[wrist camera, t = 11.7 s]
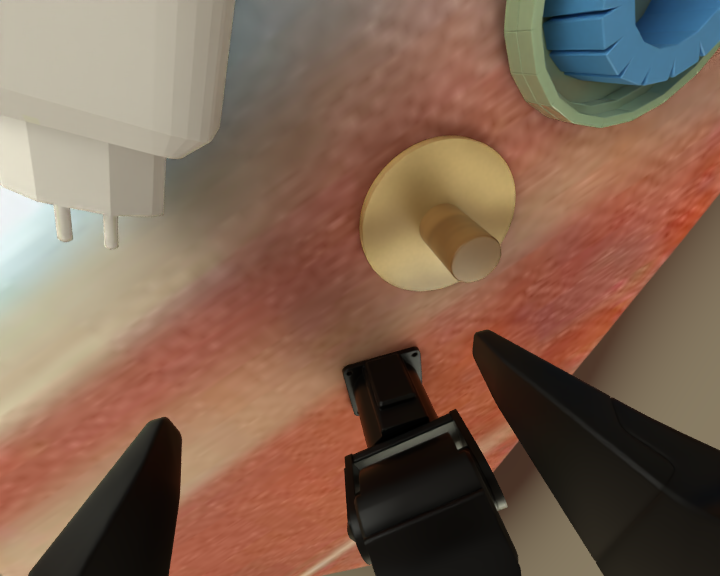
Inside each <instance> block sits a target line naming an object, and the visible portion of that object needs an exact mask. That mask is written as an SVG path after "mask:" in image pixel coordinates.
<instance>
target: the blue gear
mask: <svg viewBox="0 0 720 576" xmlns="http://www.w3.org/2000/svg"><path fill="white" fill-rule="evenodd" d="M552 16H553V17H552ZM543 17H551V18H550V19H549V20H547V21H546V22H544V23H543V29H544V35H545V41H546V47H547V50H552V52H551V53H550V54H549V56H550V57H551V59H552V60H553V61H554V63H555V64H556V66H557V67H558V68H559V70H560V71H562V72H564V74H565V75H567V76H570V77H573V78H576V79H578V80H583V81H594V82H605V83H616V84H627V85H638V86H639V85H644V86H645V85H649V84H654V83H658V82H663V81H667V80H668V78H669V77H671V78H672V77H675V76H677V75H678V74H680V73H681V72H683V71H685V70H686V69H688V68H689V67H691V66H692V65H694V64H695V63H697V62H698V61H699V56H705V55H707V54H708V53H709V51H710V50H711V49H712V48H713V47H714V46H715V45H716V44H717V43H718V42H719V41H720V0H651V2H650V3H649V5H648V7H647V9H646V11H645V13H644V15H643V16H642V17H641V18H640V19H639V21H638V22H637V23H636V20H635V0H545V5H544V12H543Z"/></svg>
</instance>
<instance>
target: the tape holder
mask: <svg viewBox="0 0 720 576" xmlns="http://www.w3.org/2000/svg"><path fill="white" fill-rule="evenodd" d="M515 198H516V195H515V185H514V180H513V177H512V174H511V171H510V169H509V167H508V165H507V164H506V162H505V160H504V159H503V158H502V157H501V156H500V155H499V154H498V153H497V152H496V151H495V150H494V149H492V148H491V147H489V146H487V145H486V144H484V143H482V142H479V141H477V140H474V139H471V138H468V137H463V136H439V137H434V138H430V139H427V140H424V141H421V142H419V143H417V144H415V145H412V146H411V147H409V148H408V149H406V150H404V151H403V152H401V153H400V154H399V155H397V156H396V157H395V158H394V159H392V160H391V161H390V162H389V163H388V164H387V165H386V166H385V167H384V168H383V170H382V171H381V172H380V173H379V175H378V176H377V177H376V179H375V180H374V182H373V184H372V185H371V187H370V189H369V191H368V193H367V195H366V197H365V200H364V203H363V206H362V210H361V215H360V224H359V232H360V241H361V245H362V248H363V251H364V253H365V256H366V258H367V260H368V262H369V263H370V265H371V267H372V268H373V270H374V271H375V272H376V273H377V274H378V275H379V276H380V277H381V278H382V279H383V280H385V281H386V282H388V283H389V284H391V285H393V286H396V287H398V288H401V289H405V290H410V291H432V290H437V289H441V288H444V287H447V286H450V285H453V284H455V283H457V282H459V281H461V282H465V283H470V282H475V281H478V280H481V279H483V278H484V277H486V276H487V275H488V274H490V273H491V272H492V271H493V270H494V268H495V267H496V266H497V264H498V262H499V260H500V257H501V247H500V244H501V243H502V241H503V239H504V237H505V235H506V233H507V231H508V229H509V227H510V224H511V221H512V218H513V214H514V208H515Z"/></svg>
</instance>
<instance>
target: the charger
mask: <svg viewBox="0 0 720 576" xmlns="http://www.w3.org/2000/svg"><path fill="white" fill-rule="evenodd" d="M234 6H235V0H0V184H1V185H2V187H4V188H6V189H9V190H11V191H14V192H16V193H18V194H21V195H23V196H25V197H28V198H30V199H32V200H35V201H37V202H42V203H47V204H52V205H54V213H55V221H56V230H57V238H58V239H59V240H60V241H63V242H69V241H71V240H73V235H72V224H71V214H70V208H73V209H78V210H83V211H88V212H94V213H99V214H103V223H104V245H105V247H106V248H108V249H116V248H118V216H136V217H155V216H161V215H163V210H164V190H165V169H166V158H172V159H181V158H183V157H185V156H187V155H188V154H190V153H192V152H194V151H195V150H197V149H199V148H201V147H202V146H204V145H206V144H207V143H209V142H211V141H212V139H213V138H214V136H215V134H216V133H217V131H218V129H219V128H220V122H221V114H222V106H223V98H224V89H225V81H226V73H227V64H228V56H229V48H230V40H231V31H232V23H233V15H234Z"/></svg>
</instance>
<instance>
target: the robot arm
mask: <svg viewBox="0 0 720 576" xmlns="http://www.w3.org/2000/svg"><path fill="white" fill-rule="evenodd" d="M473 357H474V359H475V361H476V363H477V365H478V367H479V370H480V372H481V374H482V376H483V378H484V380H485V382H486V384H487V386H488V388H489V390H490V392H491V394H492V396H493V398H494V400H495V402H496V404H497V406H498V407H499V409H500V411H501V412H502V414H503V415H504V417H505V419H506V420H507V422H508V423H509V425H510V427H511V428H512V430H513V431H514V433H515V435H516V436H517V438H518V439H519V441H520V442H521V444H522V445H523V447H524V449H525V450H526V452H527V454H528V455H529V457H530V458H531V460H532V461H533V463H534V465H535V466H536V468H537V470H538V471H539V473H540V474H541V476H542V477H543V479H544V481H545V482H546V484H547V485H548V487H549V489H550V490H551V492H552V493H553V495H554V497H555V498H556V500H557V501H558V503H559V505H560V506H561V508H562V509H563V511H564V513H565V514H566V516H567V517H568V519H569V521H570V522H571V524H572V525H573V527H574V528H575V530H576V532H577V533H578V535H579V536H580V538H581V539H582V541H583V543H584V544H585V546H586V548H587V549H588V551H589V552H590V554H591V556H592V557H593V559H594V560H595V561H596V564H597V565H598V567H599V568H600V570H601V572H602V573H603V575H604V576H720V450H718V449H716V448H713V447H711V446H709V445H707V444H705V443H703V442H701V441H698V440H696V439H694V438H692V437H690V436H688V435H685V434H683V433H681V432H679V431H677V430H675V429H673V428H671V427H669V426H667V425H665V424H663V423H660V422H658V421H656V420H654V419H652V418H650V417H648V416H646V415H645V414H642V413H641V412H638V411H637V410H635V409H633V408H631V407H629V406H627V405H625V404H624V403H622V402H620V401H618V400H616V399H615V398H610V396H609V395H607V394H605V393H603V392H602V391H600V390H598V389H596V388H594V387H592V386H590V385H589V384H587V383H585V382H583V381H582V380H580V379H578V378H576V377H574V376H572V375H571V374H569V373H567V372H565V371H563V370H562V369H560V368H558V367H556V366H554V365H552V364H551V363H549V362H547V361H545V360H543V359H541V358H540V357H538V356H536V355H534V354H532V353H530V352H529V351H527V350H525V349H523V348H521V347H520V346H518V345H516V344H514V343H512V342H510V341H509V340H507V339H505V338H503V337H501V336H499V335H498V334H496V333H494V332H492V331H490V330H483V331H480V332H476V333H475V335H474V341H473ZM343 375H344V379H345V382H346V386H347V390H348V393H349V397H350V400H351V404H352V407H353V411H354V414H355V415H356V416H360V420H361V424H362V428H363V432H364V436H365V440H366V443H367V447H368V448H367V449H365V450H362V451H360V452H358V453H356V454H350V455H347V456H345V468H344V473H345V488H346V503H347V519H348V524H347V532H348V535H349V538H350V539H352V540H353V541H355V542H356V545H357V547H358V550H359V552H360V554H361V556H362V558H363V560H364V561H365V562H366V563H367V564H368V565H370V564H372V566H373V569H374V572H375V575H376V576H521V570H520V566H519V564H518V555H517V552H516V549H515V547H514V545H513V543H512V541H511V539H510V536H509V534H508V532H507V530H506V528H505V526H504V524H503V521H502V519H501V517H500V515H499V513H498V510H501V509H504V508H506V507H507V503H506V501H505V498H504V496H503V493H502V491H501V489H500V487H499V485H498V483H497V480H496V478H495V476H494V474H493V472H492V470H491V468H490V466H489V464H488V463H487V461H486V459H485V457H484V455H483V454H482V452H481V450H480V448H479V447H478V445H477V443H476V442H475V440H474V438H473V437H472V435H471V433H470V432H469V430H468V428H467V427H466V425H465V423H464V421H463V420H462V418H461V416H460V415H459V413H458V411H457V410H456V409H454V410H452V411H450V412H449V414H446V415H444V416H442V417H439V418H438V416H437V414H436V412H435V410H434V408H433V406H432V404H431V402H430V400H429V397H428V395H427V393H426V391H425V389H424V387H423V385H422V371H421V355H420V351H419V349H418V348H417V347H411V348H408V349H404V350H401V351H397V352H394V353H390V354H387V355H383V356H380V357H376V358H373V359H369V360H366V361H362V362H359V363H355V364H351V365H348V366H345V367H344V368H343ZM181 452H182V437H181V434H180V432H179V431H178V429H177V428H176V427H175V426H174V425H173V423H172V422H171V421H170V420H169V419H168V418H166V417H162V418H158V419H154V420H151V421H150V422H148V423H147V424H146V426H145V427H144V428H143V429H142V431H141V432H140V433H139V434H138V436H137V437H136V438H135V440H134V441H133V442H132V443H131V445H130V446H129V447H128V448H127V450H126V451H125V452H124V453H123V455H122V456H121V457H120V459H119V460H118V461H117V462H116V464H115V465H114V466H113V467H112V469H111V470H110V471H109V472H108V474H107V475H106V476H105V477H104V479H103V480H102V481H101V483H100V484H99V485H98V486H97V488H96V489H95V490H94V491H93V493H92V494H91V495H90V496H89V498H88V499H87V500H86V502H85V503H84V504H83V505H82V507H81V508H80V509H79V510H78V512H77V513H76V514H75V515H74V517H73V518H72V519H71V521H70V522H69V523H68V524H67V526H66V527H65V528H64V529H63V531H62V532H61V533H60V534H59V536H58V537H57V538H56V539H55V541H54V542H53V543H52V545H51V546H50V547H49V548H48V550H47V551H46V552H45V553H44V555H43V556H42V557H41V558H40V560H39V561H38V562H37V564H36V565H35V566H34V567H33V569H32V570H31V571H30V572H29V575H28V576H169V569H170V562H171V555H172V549H173V542H174V535H175V528H176V521H177V514H178V507H179V499H180V482H181Z"/></svg>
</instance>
